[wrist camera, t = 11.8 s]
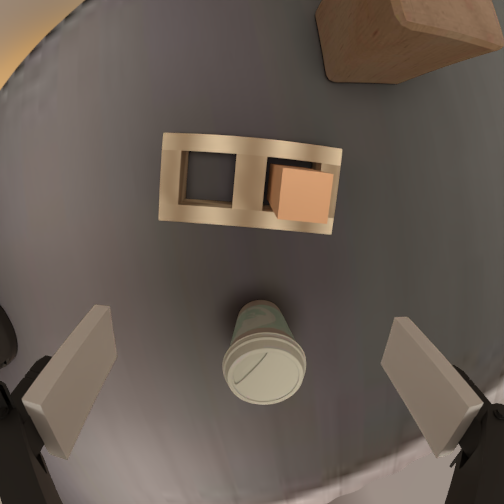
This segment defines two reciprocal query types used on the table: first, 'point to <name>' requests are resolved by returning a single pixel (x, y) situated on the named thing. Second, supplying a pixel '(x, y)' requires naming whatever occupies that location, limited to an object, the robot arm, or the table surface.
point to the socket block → (238, 180)
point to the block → (402, 37)
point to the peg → (299, 193)
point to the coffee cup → (263, 356)
